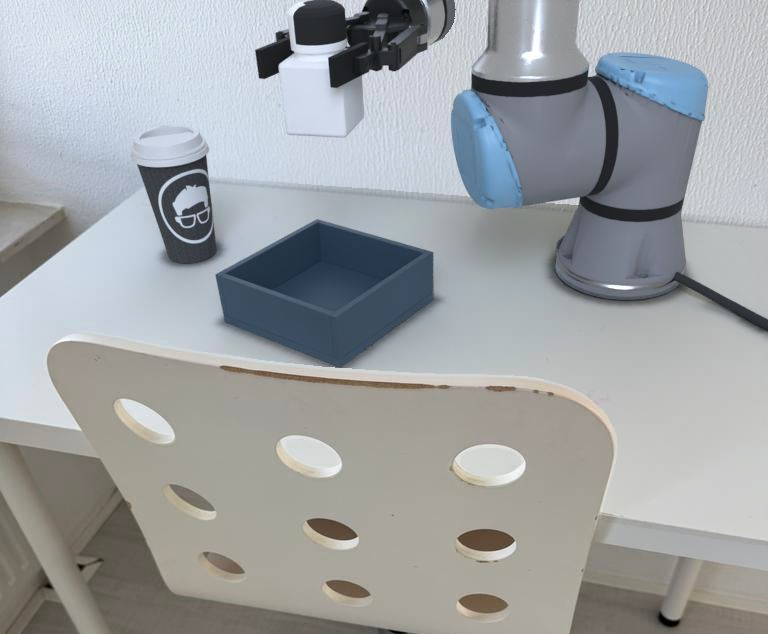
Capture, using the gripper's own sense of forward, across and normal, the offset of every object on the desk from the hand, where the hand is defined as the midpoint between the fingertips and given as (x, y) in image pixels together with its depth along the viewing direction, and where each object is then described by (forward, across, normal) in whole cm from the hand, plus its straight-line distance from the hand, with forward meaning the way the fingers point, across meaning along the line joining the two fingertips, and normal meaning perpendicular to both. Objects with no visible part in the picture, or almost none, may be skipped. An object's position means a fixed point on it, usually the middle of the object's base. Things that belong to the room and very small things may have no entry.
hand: (295, 68), depth 80 cm
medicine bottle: (-5, 0, -7) cm, 9 cm away
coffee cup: (0, +20, -24) cm, 32 cm away
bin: (+5, -5, -24) cm, 25 cm away
